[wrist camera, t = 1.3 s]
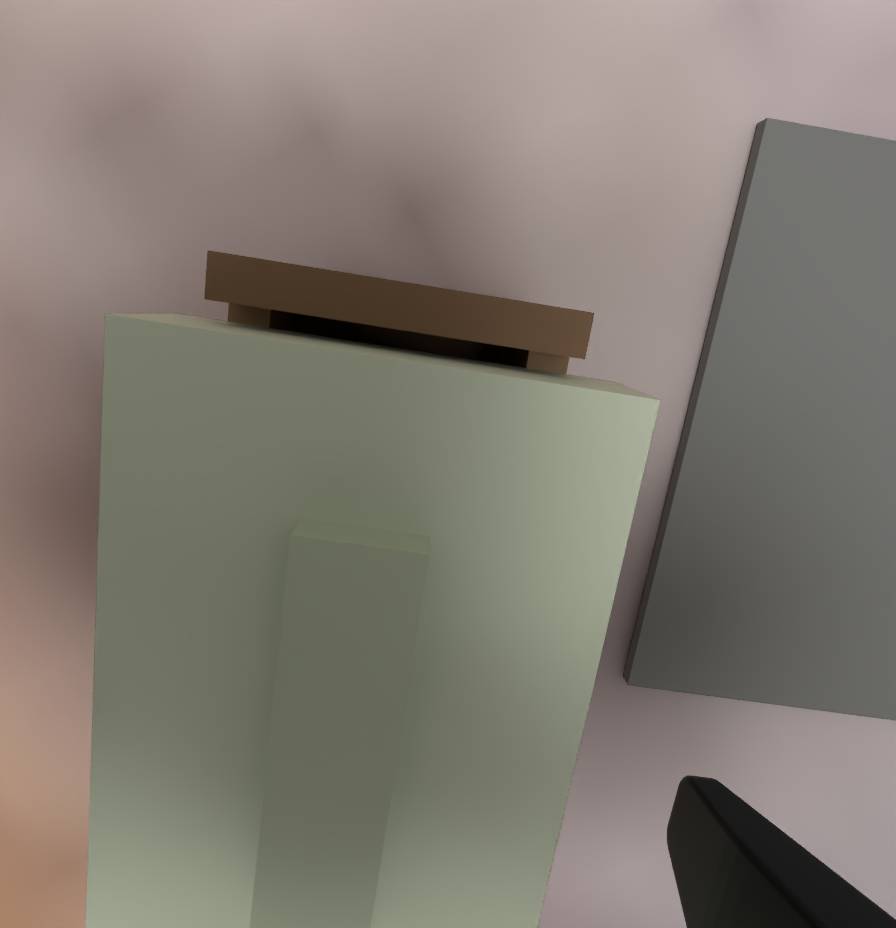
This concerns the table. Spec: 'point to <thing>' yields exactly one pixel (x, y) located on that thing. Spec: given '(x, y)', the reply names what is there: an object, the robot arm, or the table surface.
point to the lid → (343, 626)
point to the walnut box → (397, 313)
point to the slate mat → (789, 447)
